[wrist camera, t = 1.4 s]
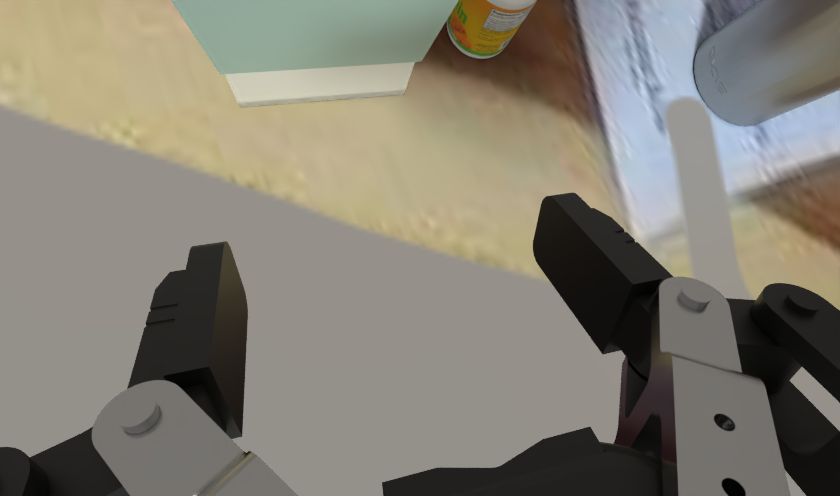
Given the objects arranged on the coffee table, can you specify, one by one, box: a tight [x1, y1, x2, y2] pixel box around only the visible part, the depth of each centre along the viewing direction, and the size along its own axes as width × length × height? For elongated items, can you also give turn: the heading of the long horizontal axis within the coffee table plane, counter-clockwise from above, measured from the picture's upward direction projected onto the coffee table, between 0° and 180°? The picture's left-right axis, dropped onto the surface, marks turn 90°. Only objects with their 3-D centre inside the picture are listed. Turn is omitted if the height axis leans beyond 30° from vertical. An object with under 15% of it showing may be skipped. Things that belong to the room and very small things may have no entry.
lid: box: [171, 0, 459, 74], centre depth 21 cm, size 12×12×1 cm
